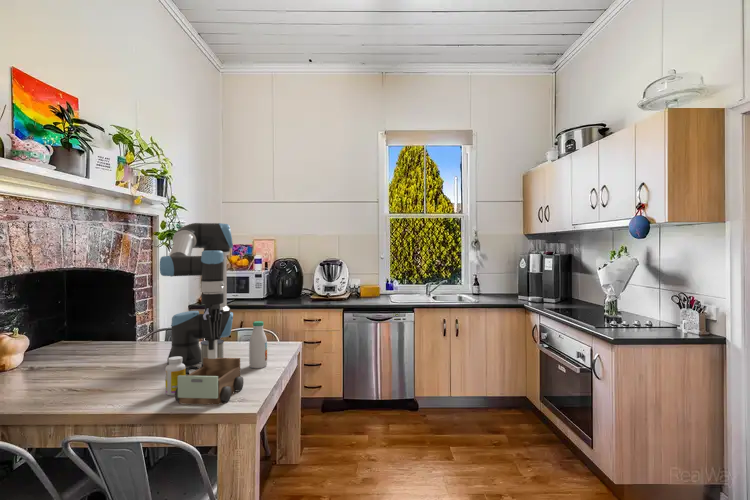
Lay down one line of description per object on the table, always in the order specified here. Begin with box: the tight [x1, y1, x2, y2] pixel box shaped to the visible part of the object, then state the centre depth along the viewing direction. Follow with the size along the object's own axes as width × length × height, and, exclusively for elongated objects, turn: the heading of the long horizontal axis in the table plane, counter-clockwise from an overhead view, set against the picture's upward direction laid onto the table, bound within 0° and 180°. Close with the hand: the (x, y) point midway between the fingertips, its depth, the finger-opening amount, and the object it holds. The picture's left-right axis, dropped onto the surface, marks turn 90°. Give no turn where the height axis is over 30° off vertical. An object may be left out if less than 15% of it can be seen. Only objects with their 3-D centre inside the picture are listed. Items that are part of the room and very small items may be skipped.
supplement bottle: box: [164, 356, 186, 397], centre depth 152 cm, size 7×7×13 cm
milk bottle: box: [248, 320, 268, 369], centre depth 187 cm, size 8×8×20 cm
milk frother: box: [185, 338, 225, 375], centre depth 171 cm, size 14×16×15 cm
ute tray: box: [174, 357, 245, 405], centre depth 150 cm, size 18×18×11 cm
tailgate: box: [178, 375, 218, 399], centre depth 140 cm, size 14×2×7 cm, turn 86°
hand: (212, 358), depth 151 cm, fingers closed
